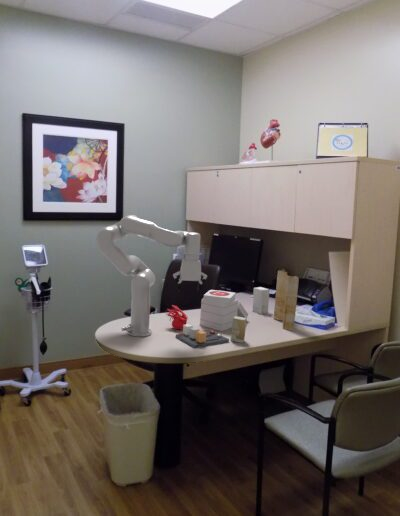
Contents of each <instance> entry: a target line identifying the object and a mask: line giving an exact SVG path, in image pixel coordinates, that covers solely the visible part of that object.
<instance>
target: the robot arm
mask: <svg viewBox="0 0 400 516" xmlns="http://www.w3.org/2000/svg"><path fill="white" fill-rule="evenodd" d="M129 235H133V236H138V237H140V238H144V239H146V240H147V239H148V240H149V241H152V242H155V243H158V244H159V245H163V246H166V247H170V248H179V247H181V246H184V252H183V254H181V255H180V258H183V259H181V263H180V270H178V271H177V272H175V273H173V274H172V276H173V278H174V280H175V282H176V283H177V291H178V292H182V282H183V281H187V282H188V281H189V282H198V283H197V292H198V293H200V292H201V291H202V285H203V283H205V282H206V280H207V278H208V275H207V274H206V273H204V272H202V263H201V260H200V250H201V237H202V236H201V234H200V233H199V232H196V231H195V232H193V231H190V232H189V231H185V230H184V231H183V230H174V231H173V230H169V229H165V228H162V227H160V226H158V225H157V224H156V223H155V222H152V221H149V220H146V219H143V218H142V219H141V218H139V217H138V215H135V214H130V215H126V216H125V215H124V216H123V217H122V218H121V219H120V221H117V222H116V223H114V224H112V225H108V226H104V227H102V228H101V229H100V230H98V232H97V235H96V246H97V248H98V250H99V251H100V253H101V254H102V255H103V256H104V257H105V258H106V259H107V260H108V261H109V262H110V263H111V265H113V266H114V267H115V269H117V271H119V273H120V274H121V275H123V276H125V277H128V276H132V279H131V281H130V282H131V283H130V290H131V299H130V300H131V301H130V302H131V305H130V307H131V308H130V323H128V325H127V326H122V327H120V328H121V332H125V331H126V332H127V333H126V334H127V335H129V336H132V337H137V338H139V337H141V338H142V337H148V336H151V335H152V334H153V331H152V329H150V317H151V316H150V315H151V314H150V313H151V287H152V286H154V285H155V283H156V276H155V274H154V272H153V271H152V270H151V268H149V267H148V266H147V265H146V263H144V262H143V260H141V259H140V257H138V256H136V255H133V254H132V255H131V254H129V255H128V254H127V253H125V251H124V250H123V249H122V248H121V247H119V246H118V245H117V244H116V243H115V242H118V241H120V240H122V239H124V238H126V237H128V236H129ZM177 276H179V278H178V277H177Z"/></svg>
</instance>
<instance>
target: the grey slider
mask: <svg viewBox="0 0 400 516" xmlns="http://www.w3.org/2000/svg"><path fill="white" fill-rule="evenodd" d="M198 331H201V330H200V329H199V328H198V327H193V328H190V333H189V337H190V338H192V339H196V332H198Z"/></svg>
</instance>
